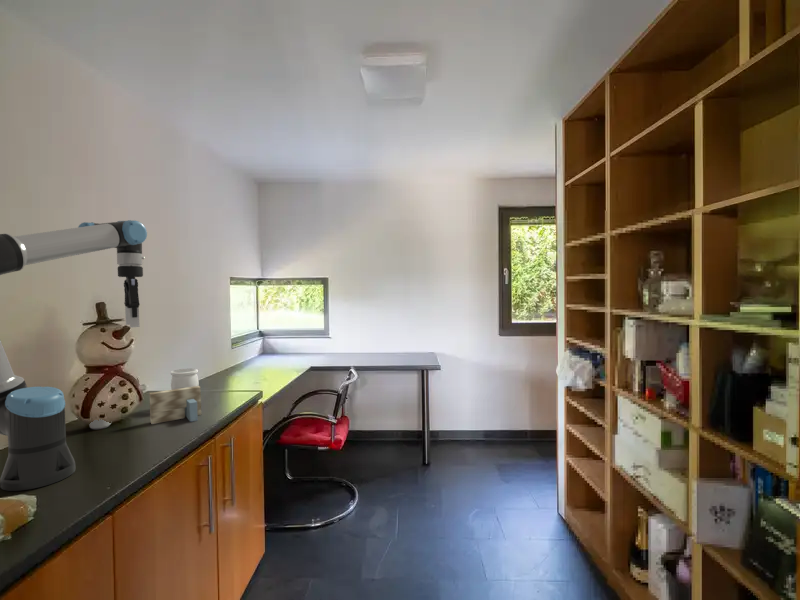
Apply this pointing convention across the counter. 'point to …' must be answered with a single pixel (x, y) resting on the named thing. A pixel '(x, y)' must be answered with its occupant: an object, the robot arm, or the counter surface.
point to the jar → (184, 378)
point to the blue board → (191, 410)
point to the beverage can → (99, 424)
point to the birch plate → (172, 403)
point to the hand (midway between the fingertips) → (132, 325)
